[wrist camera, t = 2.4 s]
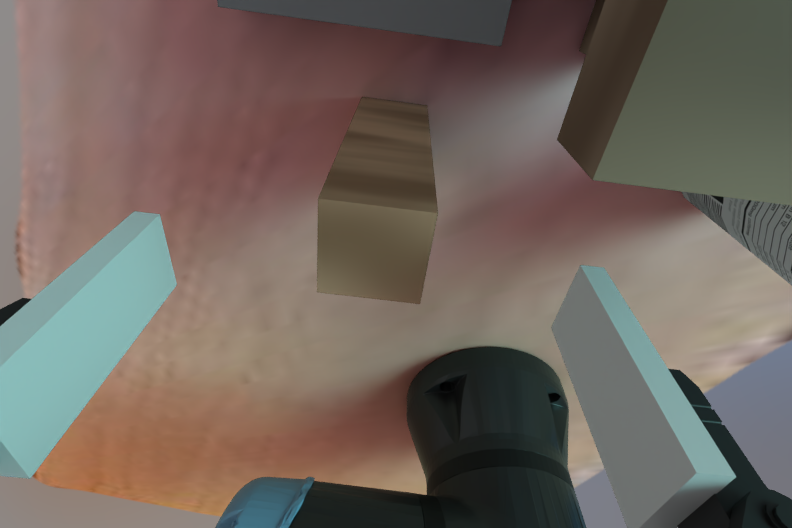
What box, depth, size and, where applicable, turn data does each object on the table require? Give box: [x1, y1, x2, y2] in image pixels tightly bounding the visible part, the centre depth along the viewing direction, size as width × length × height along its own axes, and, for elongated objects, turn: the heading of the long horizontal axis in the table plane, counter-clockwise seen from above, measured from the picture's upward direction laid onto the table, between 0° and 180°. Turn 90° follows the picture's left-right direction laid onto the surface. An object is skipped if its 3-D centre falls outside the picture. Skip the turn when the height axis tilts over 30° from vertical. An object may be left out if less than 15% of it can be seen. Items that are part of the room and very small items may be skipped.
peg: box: [317, 97, 438, 304], centre depth 21 cm, size 4×4×14 cm
